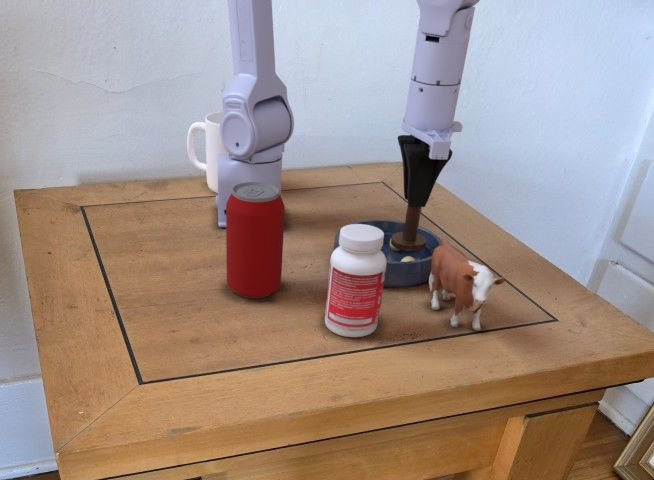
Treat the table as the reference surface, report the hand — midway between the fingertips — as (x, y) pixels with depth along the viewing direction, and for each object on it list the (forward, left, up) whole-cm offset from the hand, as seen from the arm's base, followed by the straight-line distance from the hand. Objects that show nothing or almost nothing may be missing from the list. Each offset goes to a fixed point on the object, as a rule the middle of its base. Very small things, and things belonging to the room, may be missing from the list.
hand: (414, 202), depth 88 cm
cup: (-25, +30, -9) cm, 39 cm away
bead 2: (0, -4, -7) cm, 8 cm away
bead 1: (0, +4, -7) cm, 8 cm away
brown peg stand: (0, 0, -5) cm, 5 cm away
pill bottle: (-10, -16, -9) cm, 21 cm away
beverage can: (-21, -7, -9) cm, 23 cm away
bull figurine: (+3, -14, -9) cm, 17 cm away
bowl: (-3, 0, -8) cm, 9 cm away
